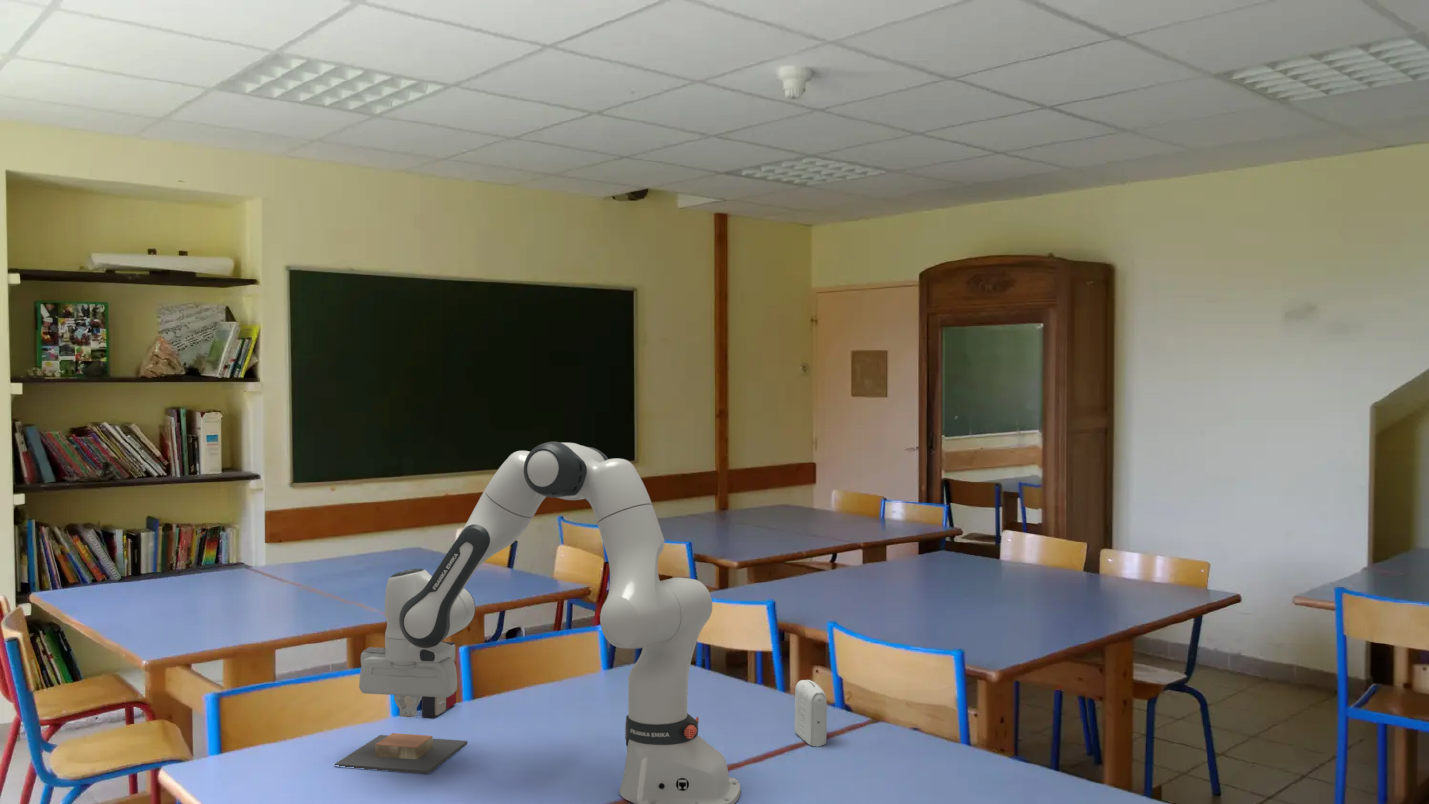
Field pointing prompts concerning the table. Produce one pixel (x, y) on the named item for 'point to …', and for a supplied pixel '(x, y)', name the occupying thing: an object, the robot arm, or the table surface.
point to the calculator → (438, 699)
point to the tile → (404, 746)
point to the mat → (422, 765)
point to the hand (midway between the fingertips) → (408, 716)
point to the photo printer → (810, 713)
